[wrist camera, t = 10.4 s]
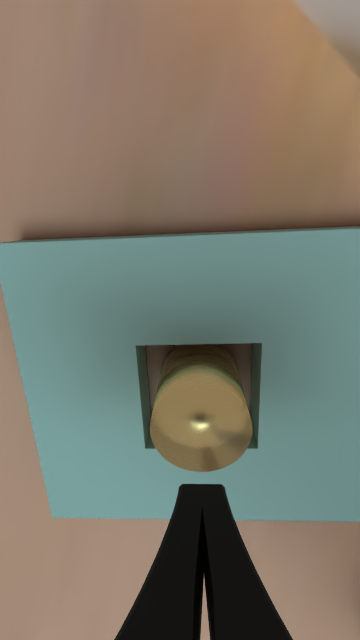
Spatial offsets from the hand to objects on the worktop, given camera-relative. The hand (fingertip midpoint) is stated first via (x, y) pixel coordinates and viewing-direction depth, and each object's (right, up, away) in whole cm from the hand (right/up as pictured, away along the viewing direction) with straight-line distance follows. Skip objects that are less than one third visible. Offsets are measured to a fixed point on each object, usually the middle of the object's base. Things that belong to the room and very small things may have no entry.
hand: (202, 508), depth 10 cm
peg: (0, +3, +8) cm, 9 cm away
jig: (0, +3, +8) cm, 9 cm away
